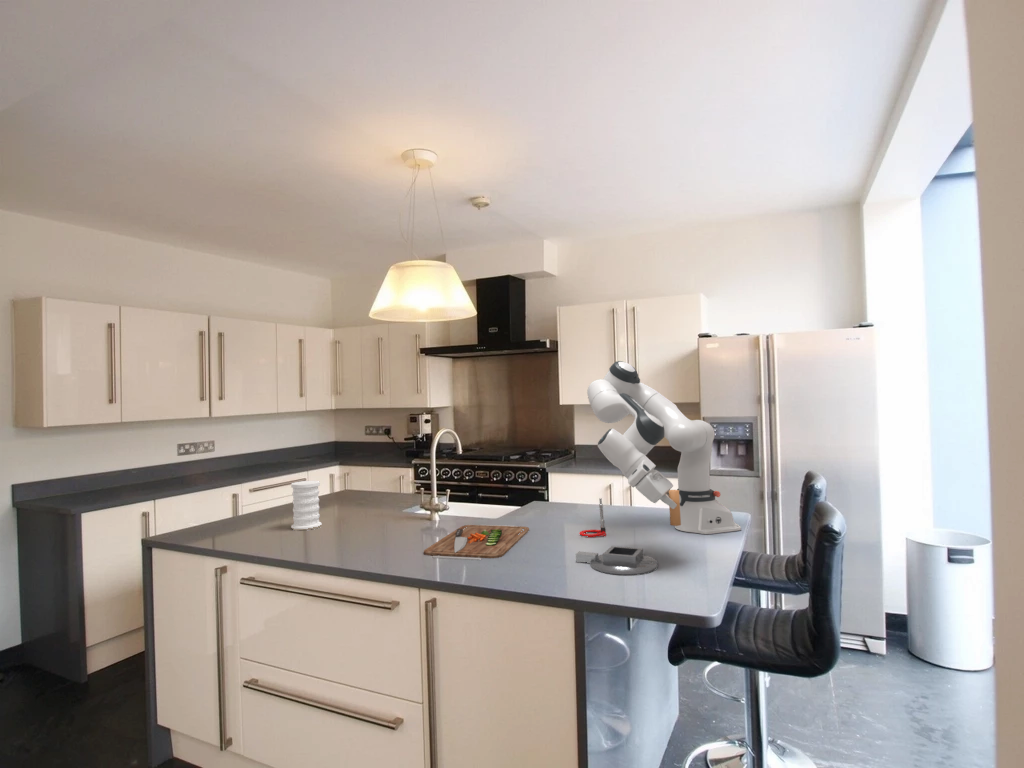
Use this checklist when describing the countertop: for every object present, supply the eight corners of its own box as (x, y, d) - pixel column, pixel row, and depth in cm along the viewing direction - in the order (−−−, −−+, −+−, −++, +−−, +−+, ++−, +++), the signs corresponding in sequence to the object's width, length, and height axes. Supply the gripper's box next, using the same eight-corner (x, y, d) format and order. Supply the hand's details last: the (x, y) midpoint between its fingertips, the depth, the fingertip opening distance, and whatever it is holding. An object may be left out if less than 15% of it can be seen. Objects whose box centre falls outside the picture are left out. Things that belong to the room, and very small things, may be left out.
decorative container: (285, 529, 231) (284, 483, 231) (310, 523, 241) (308, 479, 241) (303, 532, 224) (301, 485, 225) (327, 526, 234) (326, 481, 234)
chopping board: (497, 562, 176) (497, 552, 176) (417, 558, 183) (416, 549, 183) (532, 528, 220) (532, 520, 220) (466, 526, 227) (465, 518, 227)
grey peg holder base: (587, 552, 182) (587, 539, 182) (663, 559, 172) (662, 545, 172) (566, 569, 165) (566, 555, 165) (649, 578, 155) (649, 563, 155)
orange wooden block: (678, 523, 172) (676, 489, 173) (682, 525, 169) (680, 491, 170) (668, 523, 172) (666, 490, 172) (672, 526, 169) (670, 491, 169)
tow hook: (580, 539, 201) (607, 537, 201) (577, 502, 202) (603, 500, 201) (578, 533, 210) (604, 531, 209) (575, 497, 210) (601, 496, 210)
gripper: (642, 474, 185) (675, 506, 181) (626, 484, 167) (663, 520, 162) (655, 461, 183) (689, 492, 179) (641, 469, 165) (678, 504, 161)
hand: (676, 505), depth 171 cm, fingers closed on orange wooden block, 3 cm apart
